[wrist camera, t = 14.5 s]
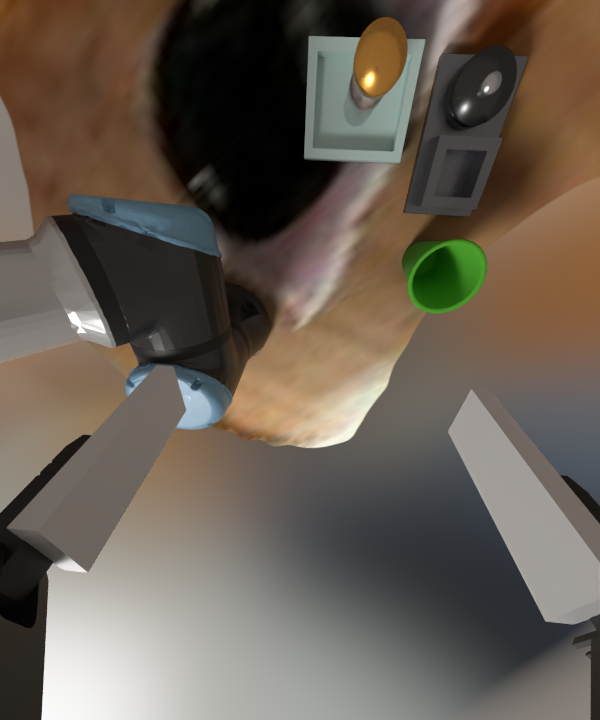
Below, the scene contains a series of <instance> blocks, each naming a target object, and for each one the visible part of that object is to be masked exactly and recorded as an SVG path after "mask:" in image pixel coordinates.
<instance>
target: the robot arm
mask: <svg viewBox="0 0 600 720" xmlns="http://www.w3.org/2000/svg"><path fill="white" fill-rule="evenodd" d="M67 207H68V209H69V211H70V212H73V214H71V215H57V216H45V217H44V219H43V220H42V222H41V223H40V225H39V227H38V228H37V230H36V231H35V233H34V235H33V236H31V237H30V238H28V239H26V240H17V241H7V242H0V363H2V362H6V361H9V360H13V359H17V358H20V357H24V356H27V355H31V354H34V353H38V352H41V351H44V350H48V349H52V348H55V347H58V346H62V345H65V344H69V343H72V342H76V341H79V340H87V341H92V342H95V343H98V344H101V345H104V346H107V347H110V348H114V347H117V346H120V345H123V344H127V343H130V344H131V347H132V349H133V351H134V354H135V356H136V358H137V361H138V366H137V367H136V368H134V369H133V370H132V371H131V372H130V373H129V378H128V379H127V381H126V384H125V390H126V394H127V396H128V397H127V398H126V399H125V400H124V401H123V402H122V403H121V404H120V405H119V406H118V408H117V409H116V410H115V411H114V412H113V413H112V414H111V415H110V416H109V417H108V419H107V420H106V421H105V422H104V423H103V424H102V425H101V426H100V427H99V428H98V429H97V430H96V431H95V432H94V434H93V435H82V436H81V437H79V438H78V439H76V440H75V441H73V442H72V443H70V444H69V445H67V446H66V447H65V448H64V449H63V450H62V451H61V452H60V453H59V454H58V455H57V456H56V457H55V458H54V459H53V460H52V463H50V464H48V465H47V466H46V467H45V468H44V469H43V470H42V471H41V473H40V475H39V476H36V477H35V478H34V479H33V481H31V482H30V483H29V484H28V485H27V486H26V488H24V490H23V491H22V492H21V493H20V494H19V495H18V496H17V497H16V498H15V499H14V500H13V501H12V502H11V503H10V504H9V505H8V506H7V507H6V508H5V509H4V510H3V511H2V512H1V513H0V720H41V715H42V696H43V676H44V656H45V638H46V618H47V599H48V598H47V597H48V576H47V573H46V572H47V570H48V569H49V567H50V566H51V565H52V563H54V564H56V565H57V566H58V567H60V568H61V569H63V570H69V571H79V572H89V570H90V568H91V567H92V565H93V563H94V562H95V560H96V559H97V557H98V555H99V554H100V552H101V550H102V548H103V547H104V545H105V543H106V542H107V540H108V539H109V537H110V535H111V534H112V532H113V530H114V529H115V527H116V525H117V524H118V522H119V521H120V519H121V517H122V516H123V514H124V512H125V511H126V509H127V507H128V506H129V504H130V502H131V501H132V499H133V497H134V496H135V494H136V492H137V491H138V489H139V487H140V486H141V484H142V483H143V481H144V479H145V478H146V476H147V474H148V473H149V471H150V469H151V468H152V466H153V464H154V463H155V461H156V459H157V458H158V456H159V454H160V453H161V451H162V449H163V448H164V446H165V444H166V443H167V441H168V439H169V438H170V436H171V435H172V433H173V431H174V430H175V428H181V429H201V428H206V427H209V426H211V425H213V424H214V423H215V422H217V421H219V420H220V419H221V418H222V417H223V415H224V414H225V412H226V410H227V409H228V407H229V406H230V404H231V402H232V398H233V395H234V393H235V390H236V388H237V385H238V383H239V381H240V378H241V376H242V373H243V371H244V368H245V366H246V363H247V361H248V360H249V359H250V358H252V357H253V356H255V355H256V354H257V353H258V352H259V351H260V350H261V349H262V348H263V346H264V345H265V343H266V340H267V337H268V334H269V329H270V323H269V317H268V314H267V312H266V309H265V308H264V306H263V304H262V303H261V302H260V300H259V299H258V298H257V297H256V296H255V295H253V294H252V293H251V292H249V291H248V290H246V289H244V288H242V287H240V286H237V285H234V284H229V283H225V282H224V276H223V269H222V263H221V257H222V254H221V252H220V251H219V249H218V244H217V239H216V235H215V230H214V225H213V223H212V220H211V219H210V217H209V216H208V215H207V214H206V213H205V212H204V211H203V210H201V209H199V208H196V207H190V206H181V205H172V204H162V203H153V202H143V201H134V200H125V199H115V198H106V197H97V196H88V195H78V194H71V195H69V197H68V205H67ZM448 432H449V434H450V436H451V438H452V440H453V442H454V444H455V446H456V448H457V450H458V452H459V454H460V456H461V458H462V460H463V462H464V464H465V466H466V468H467V469H468V471H469V473H470V475H471V477H472V479H473V481H474V483H475V485H476V487H477V489H478V491H479V493H480V495H481V497H482V498H483V500H484V503H485V505H486V506H487V508H488V510H489V512H490V514H491V516H492V518H493V520H494V522H495V524H496V526H497V528H498V530H499V532H500V534H501V536H502V538H503V539H504V541H505V543H506V545H507V547H508V549H509V551H510V553H511V555H512V557H513V559H514V561H515V563H516V565H517V567H518V569H519V571H520V572H521V574H522V576H523V578H524V580H525V582H526V584H527V586H528V588H529V590H530V592H531V594H532V596H533V598H534V600H535V602H536V603H537V606H538V608H539V610H540V611H541V613H542V615H543V617H544V619H545V621H548V622H556V623H566V624H577V623H579V622H582V621H585V620H588V619H590V620H591V621H592V623H593V624H594V626H595V628H596V629H597V630H596V631H593V632H590V633H587V634H584V635H581V636H578V637H575V639H574V642H573V646H575V647H576V648H577V649H579V648H583V647H586V646H590V645H591V651H589V652H587V653H586V656H587V657H589V658H590V659H591V720H600V506H599V505H598V504H597V503H596V502H595V501H594V499H593V498H592V497H591V496H590V495H589V493H588V492H587V491H585V490H584V489H583V488H582V487H580V486H579V485H578V484H577V483H576V482H574V481H573V480H572V479H571V478H569V477H568V476H561V475H559V474H558V473H557V471H556V470H555V469H554V468H553V467H552V466H551V464H550V463H549V462H548V461H547V459H546V458H545V457H544V456H543V455H542V453H541V452H540V451H539V450H538V448H537V447H536V446H535V445H534V444H533V442H532V441H531V440H530V439H529V437H528V436H527V435H526V434H525V433H524V432H523V430H522V429H521V428H520V427H519V425H518V424H517V423H516V422H515V420H514V419H513V418H512V417H511V416H510V414H509V413H508V412H507V411H506V410H505V408H504V407H503V406H502V405H501V403H500V402H499V401H498V400H497V399H496V397H495V396H494V395H493V394H492V392H491V391H490V390H478V389H471V391H470V393H469V395H468V396H467V398H466V400H465V402H464V404H463V405H462V407H461V409H460V411H459V413H458V415H457V416H456V418H455V420H454V422H453V423H452V426H451V427H450V429H449V431H448Z"/></svg>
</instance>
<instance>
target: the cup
mask: <svg viewBox="0 0 600 720" xmlns="http://www.w3.org/2000/svg"><path fill="white" fill-rule="evenodd" d="M402 267H403V270H404V273H405V276H406V279H407V282H408V285H407V288H408V295H409V297H410V299H411V301H412V302H413V303H414V305H415V306H416V307H418V308H419V309H421V310H423V311H426V312H429V313H443V312H449V311H451V310H454V309H457V308H459V307H460V306H462V305H464V304H465V303H467V302H468V301H469V300H470V299H471V298H473V297H474V295H475V294H476V293H477V292H478V291H479V289H480V288H481V286H482V284H483V282H484V279H485V276H486V273H487V260H486V256H485V253H484V252H483V250H482V249H481V247H480V246H478V245H477V244H475V243H474V242H472V241H469V240H466V239H451V240H447V241H443V242H442V241H420V242H417V243H414V244H413V245H411V246H410V247H409V248H408V249H407V250H406V252H405V253H404V256H403V259H402Z"/></svg>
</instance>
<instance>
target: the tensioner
mask: <svg viewBox="0 0 600 720" xmlns="http://www.w3.org/2000/svg"><path fill="white" fill-rule="evenodd" d="M527 59H528V56H514V54H513V53H512V51H511V50H510V49H509V48H507V47H505V46H502V45H492V46H489V47H486V48H484V49H483V50H481V51H480V52H478V53H477V54H476V55H467V54H442V55H441V56H440V57H439V61H438V66H437V70H436V74H435V78H434V83H433V87H432V91H431V96H430V100H429V104H428V108H427V113H426V117H425V121H424V125H423V130H422V134H421V138H420V143H419V147H418V151H417V155H416V160H415V164H414V168H413V172H412V177H411V181H410V185H409V190H408V194H407V198H406V202H405V207H404V211H403V213H412V214H431V215H450V216H469V217H470V215H471V212H472V209H477V206H478V204H479V201H480V198H481V196H482V193H483V190H484V188H485V185H486V182H487V180H488V177H489V174H490V172H491V169H492V166H493V164H494V161H495V158H496V155H497V153H498V150H499V147H500V145H501V142H502V139H503V138H499V135H500V133H501V130H502V127H503V125H504V122H505V119H506V116H507V114H508V111H509V108H510V105H511V103H512V100H513V97H514V94H515V92H516V89H517V86H518V83H519V81H520V78H521V75H522V73H523V70H524V67H525V64H526V62H527Z"/></svg>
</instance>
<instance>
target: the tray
mask: <svg viewBox="0 0 600 720" xmlns="http://www.w3.org/2000/svg"><path fill="white" fill-rule="evenodd" d="M359 40H360V38H359V37H324V36H309V46H308V72H307V97H306V123H305V148H304V159H305V160H322V161H343V162H365V163H387V164H396V163H400V160H401V155H402V150H403V146H404V141H405V136H406V131H407V126H408V122H409V117H410V112H411V107H412V102H413V98H414V93H415V88H416V83H417V78H418V74H419V69H420V64H421V59H422V54H423V49H424V45H425V40H426V39H407V45H408V52H407V60H406V64H405V67H404V70H403V72H402V74H401V76H400V78H399V79H398V81H397V82H396V84H395V85H394V86H393V88H392V89H391V90H390V91H389V92H388V93H387V94H385V95H384V96H383V98H382V99H381V101H380V102H379V104H378V105H377V107H376V108H375V109H374V111H373V112H372V114H371V115H370V117H369V118H368V120H367V121H366V122H365V123H364V124H362V125H360V126H352V125H350V124H349V123H348V122H347V121H346V119H345V116H344V102H345V99H346V95H347V91H348V88H349V84H350V80H351V77H352V73H353V61H354V56H355V52H356V48H357V45H358V42H359Z"/></svg>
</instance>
